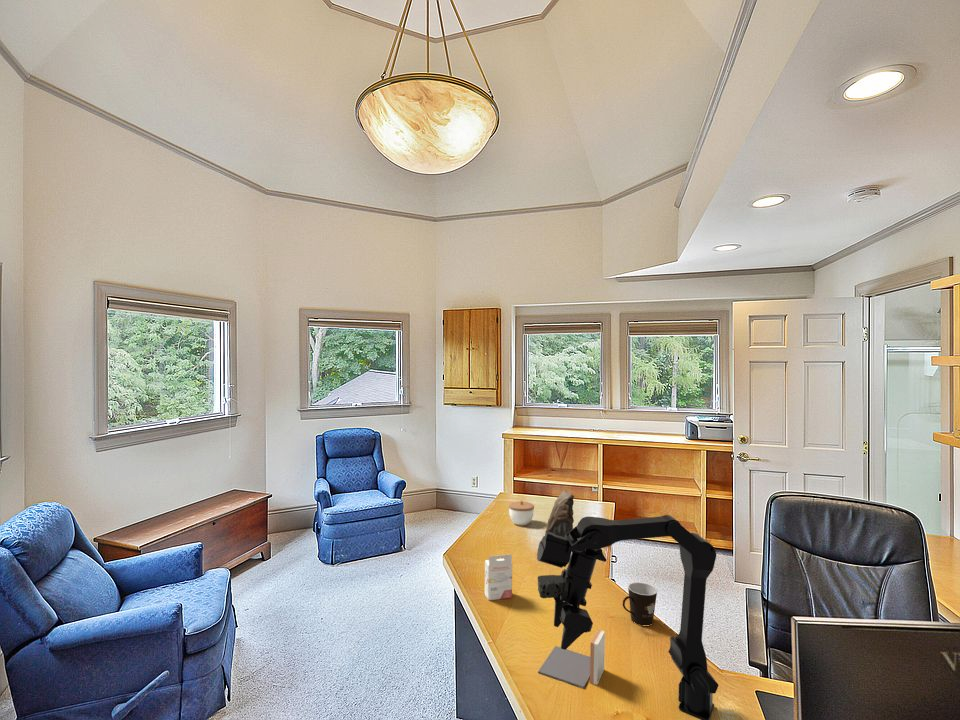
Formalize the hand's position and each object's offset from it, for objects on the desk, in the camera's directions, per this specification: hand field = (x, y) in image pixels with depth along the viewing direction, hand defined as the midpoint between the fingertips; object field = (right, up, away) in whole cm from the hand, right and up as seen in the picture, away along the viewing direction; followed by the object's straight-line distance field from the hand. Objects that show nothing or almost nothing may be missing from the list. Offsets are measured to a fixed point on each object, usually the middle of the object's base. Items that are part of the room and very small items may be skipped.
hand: (559, 637), depth 113 cm
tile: (+12, -16, +12) cm, 23 cm away
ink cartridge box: (-12, -16, +53) cm, 57 cm away
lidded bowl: (+2, -17, +130) cm, 131 cm away
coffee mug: (+31, -17, +39) cm, 53 cm away
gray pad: (+5, -16, +15) cm, 23 cm away
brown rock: (+18, -17, +113) cm, 116 cm away
